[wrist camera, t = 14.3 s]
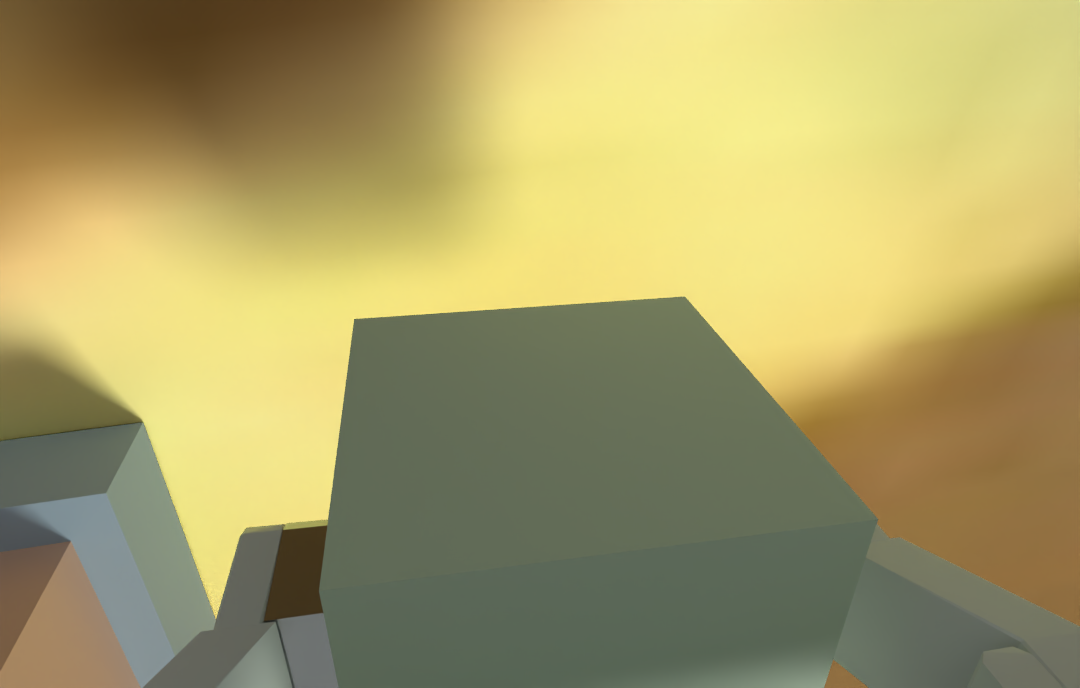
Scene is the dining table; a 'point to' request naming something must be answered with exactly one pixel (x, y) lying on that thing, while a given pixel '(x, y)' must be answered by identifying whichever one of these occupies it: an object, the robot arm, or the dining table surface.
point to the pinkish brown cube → (55, 624)
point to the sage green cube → (578, 509)
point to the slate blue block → (109, 533)
